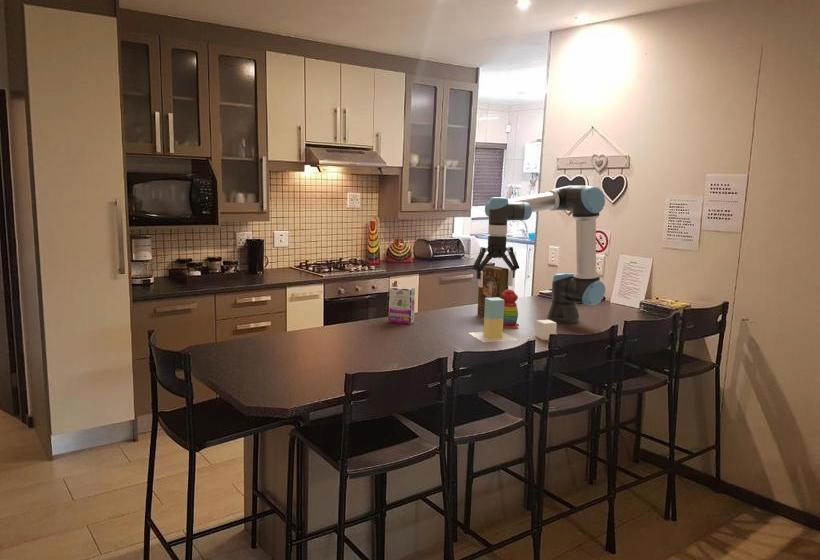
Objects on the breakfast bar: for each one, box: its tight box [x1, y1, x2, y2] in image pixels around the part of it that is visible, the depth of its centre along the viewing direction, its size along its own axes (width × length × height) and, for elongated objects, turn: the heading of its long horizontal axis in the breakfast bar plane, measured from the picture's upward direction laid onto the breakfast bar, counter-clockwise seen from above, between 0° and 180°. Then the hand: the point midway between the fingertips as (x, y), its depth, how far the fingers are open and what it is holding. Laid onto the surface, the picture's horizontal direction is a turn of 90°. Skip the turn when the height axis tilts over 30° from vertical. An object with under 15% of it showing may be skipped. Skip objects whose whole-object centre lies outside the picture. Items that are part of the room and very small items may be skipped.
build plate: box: [468, 331, 519, 343], centre depth 255 cm, size 16×16×1 cm
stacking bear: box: [501, 288, 520, 330], centre depth 273 cm, size 11×10×18 cm
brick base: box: [483, 317, 504, 339], centre depth 254 cm, size 6×6×8 cm
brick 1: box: [483, 297, 504, 320], centre depth 253 cm, size 6×6×8 cm
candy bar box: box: [388, 286, 416, 325], centre depth 280 cm, size 11×5×16 cm, turn 68°
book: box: [476, 264, 510, 318], centre depth 294 cm, size 16×6×25 cm, turn 34°
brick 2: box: [535, 319, 558, 341], centre depth 254 cm, size 6×6×8 cm
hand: (495, 286), depth 251 cm, fingers open, 13 cm apart
